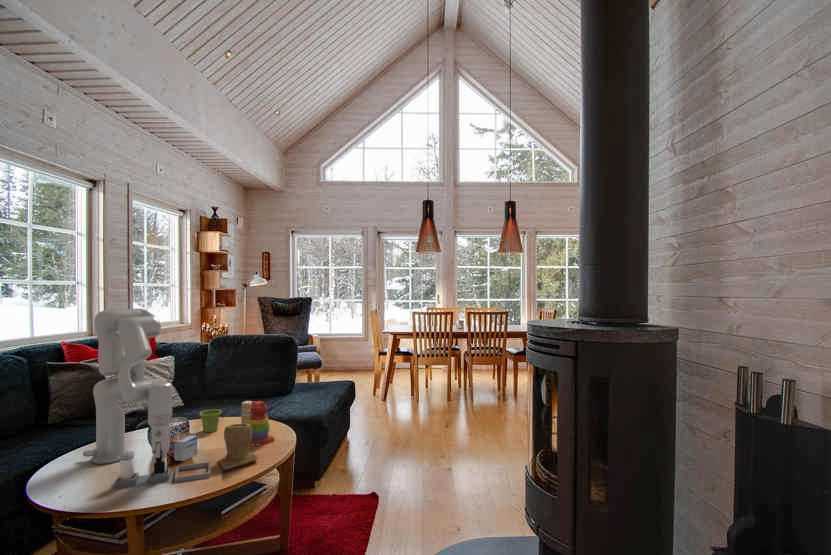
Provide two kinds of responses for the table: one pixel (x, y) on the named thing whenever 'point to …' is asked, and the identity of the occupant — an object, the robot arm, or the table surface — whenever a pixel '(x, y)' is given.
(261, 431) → the stacking bear
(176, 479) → the tray
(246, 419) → the supplement box
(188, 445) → the medicine box
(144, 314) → the robot arm
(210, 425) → the plant pot
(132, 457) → the plain fuse
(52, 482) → the table surface
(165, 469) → the marked fuse
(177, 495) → the table surface
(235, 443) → the brown piece
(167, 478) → the fuse block
